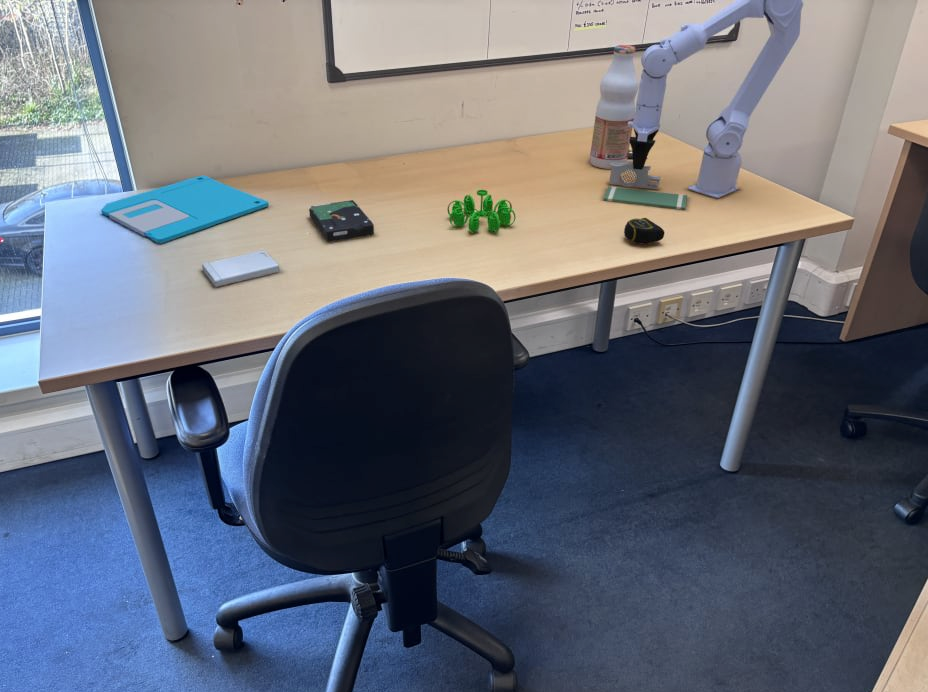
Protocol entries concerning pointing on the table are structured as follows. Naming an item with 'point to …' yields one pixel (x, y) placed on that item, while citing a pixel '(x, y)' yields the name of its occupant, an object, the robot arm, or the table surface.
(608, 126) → the fruit juice
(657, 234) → the tape measure
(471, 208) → the chandelier
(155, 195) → the floppy disk
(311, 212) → the disk drive
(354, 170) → the table surface
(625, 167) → the lattice window wall
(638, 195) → the towel
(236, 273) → the hard drive
